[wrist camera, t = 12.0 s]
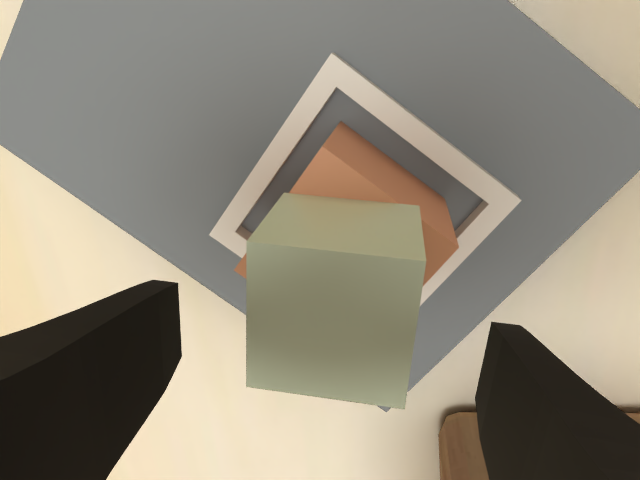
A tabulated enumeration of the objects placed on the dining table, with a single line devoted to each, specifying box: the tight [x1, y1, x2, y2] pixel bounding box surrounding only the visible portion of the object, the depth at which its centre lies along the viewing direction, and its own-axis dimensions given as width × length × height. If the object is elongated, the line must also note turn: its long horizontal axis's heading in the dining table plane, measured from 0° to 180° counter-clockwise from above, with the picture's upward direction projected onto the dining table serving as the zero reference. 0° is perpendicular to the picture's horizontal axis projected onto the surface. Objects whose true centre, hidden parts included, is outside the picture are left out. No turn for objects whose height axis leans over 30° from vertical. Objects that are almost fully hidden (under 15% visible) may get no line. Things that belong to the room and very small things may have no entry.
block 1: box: [234, 121, 459, 286], centre depth 18 cm, size 5×5×5 cm
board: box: [0, 0, 640, 412], centre depth 19 cm, size 22×16×2 cm
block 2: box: [246, 193, 426, 409], centre depth 14 cm, size 4×4×4 cm
